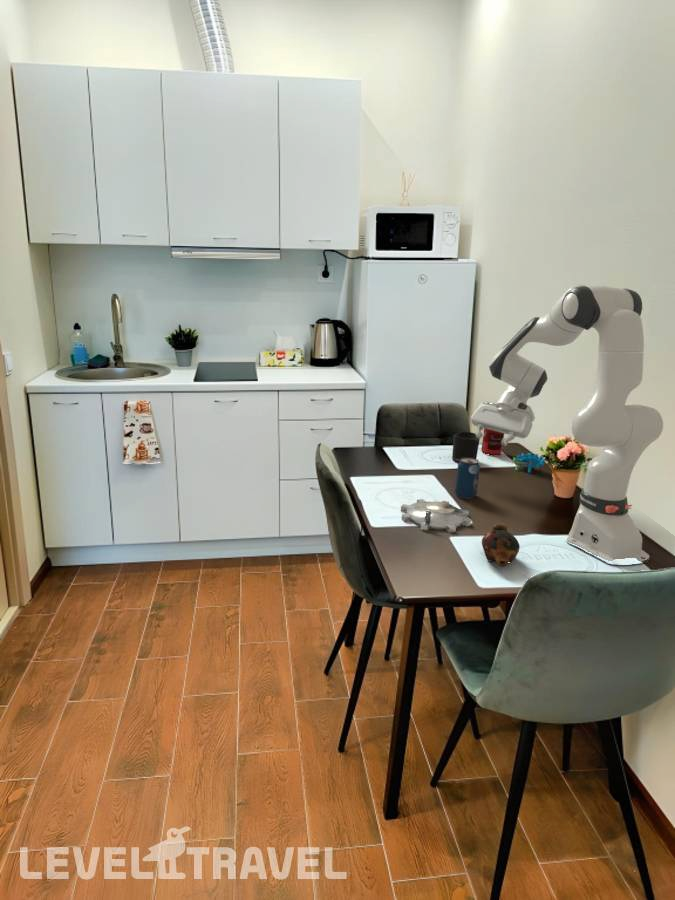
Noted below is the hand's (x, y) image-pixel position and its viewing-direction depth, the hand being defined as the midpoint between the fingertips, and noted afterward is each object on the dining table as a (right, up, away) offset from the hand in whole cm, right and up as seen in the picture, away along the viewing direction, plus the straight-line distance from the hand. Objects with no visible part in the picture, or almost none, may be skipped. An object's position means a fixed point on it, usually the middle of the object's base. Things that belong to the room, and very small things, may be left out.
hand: (490, 440), depth 222 cm
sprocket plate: (-21, -23, -22) cm, 38 cm away
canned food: (+10, -4, +42) cm, 43 cm away
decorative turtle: (-8, -32, -45) cm, 56 cm away
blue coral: (+19, -11, +25) cm, 33 cm away
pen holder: (-3, -7, +30) cm, 31 cm away
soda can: (-9, -18, -3) cm, 20 cm away
